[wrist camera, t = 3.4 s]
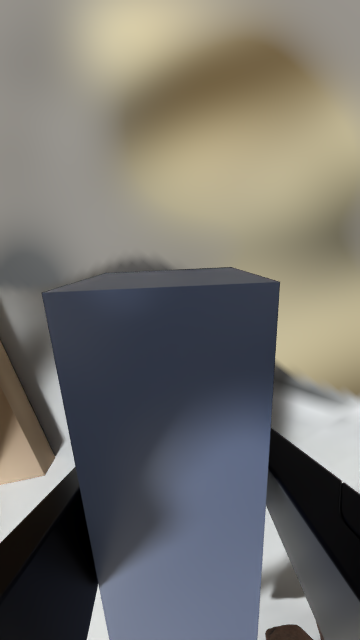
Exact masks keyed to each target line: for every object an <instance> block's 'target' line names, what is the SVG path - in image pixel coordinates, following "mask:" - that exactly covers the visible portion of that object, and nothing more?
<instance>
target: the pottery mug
mask: <svg viewBox="0 0 360 640" xmlns="http://www.w3.org/2000/svg"><path fill="white" fill-rule="evenodd" d="M316 623H317V622H316ZM317 627H318V630H319V633H320V637H321V640H324V638H323V635H322V633H321V631H320V629H319V626H318V624H317ZM265 635H266V640H313V639H312V638H311V637H310V636H309V635H308V634H307V633H306V632H305V631H304V630H303V629H302V628H301V627H299V626H298V625H282V626H278V627H273V628H271V629H268V630H267V631H266V633H265Z"/></svg>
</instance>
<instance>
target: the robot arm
mask: <svg viewBox="0 0 360 640" xmlns="http://www.w3.org/2000/svg"><path fill="white" fill-rule="evenodd" d="M266 506H267V509H268V511H269V513H270V515H271V518H272V520H273V522H274V525H275V527H276V529H277V532H278V534H279V536H280V539H281V541H282V543H283V545H284V548H285V550H286V552H287V555H288V557H289V559H290V562H291V564H292V566H293V569H294V571H295V573H296V575H297V578H298V580H299V582H300V585H301V587H302V589H303V592H304V594H305V596H306V599H307V601H308V603H309V605H310V608H311V610H312V612H313V615H314V617H315V619H316V622H317V624H318V626H319V629H320V631H321V633H322V635H323V638H324V640H360V494H359V493H358V492H356V491H355V490H354V489H352V488H351V487H350V486H348V485H347V484H346V483H342V481H341V480H340V479H339V478H338V477H336V476H335V475H334V474H332V473H331V472H330V471H328V470H327V469H326V468H324V467H323V466H322V465H320V464H319V463H318V462H316V461H315V460H313V459H312V458H311V457H309V456H308V455H307V454H305V453H304V452H303V451H301V450H300V449H299V448H297V447H296V446H295V445H293V444H292V443H291V442H289V441H288V440H287V439H285V438H284V437H283V436H281V435H280V434H279V433H277V432H276V431H275V430H273V429H272V428H271V431H270V446H269V462H268V478H267V493H266ZM97 587H98V579H97V573H96V568H95V563H94V558H93V553H92V548H91V543H90V538H89V532H88V527H87V522H86V517H85V512H84V507H83V502H82V497H81V492H80V486H79V481H78V476H77V471H76V467H75V468H74V469H73V470H72V471H71V472H70V473H69V474H68V475H67V476H66V477H65V478H64V479H63V480H62V481H61V482H60V483H59V484H58V485H57V486H56V487H55V488H54V489H53V490H52V491H51V492H50V493H49V494H48V495H47V496H46V497H45V498H44V499H43V500H42V501H41V502H40V503H39V504H38V505H37V506H36V507H35V508H34V509H33V510H32V511H31V512H30V513H29V514H28V515H27V517H26V518H25V519H24V520H23V521H22V522H21V523H20V524H19V525H18V526H17V527H16V528H15V529H14V530H13V531H12V532H11V533H10V534H9V535H8V536H7V537H6V538H5V539H4V540H3V541H2V542H1V543H0V640H87V635H88V631H89V626H90V621H91V616H92V611H93V606H94V601H95V597H96V592H97Z"/></svg>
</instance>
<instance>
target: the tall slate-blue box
mask: <svg viewBox="0 0 360 640" xmlns="http://www.w3.org/2000/svg"><path fill="white" fill-rule="evenodd" d="M279 288H280V282H278V281H275V280H272V279H269V278H265V277H262V276H259V275H255V274H252V273H249V272H245V271H242V270H239V269H235V268H232V267H221V268H199V269H178V270H165V271H143V272H121V273H105V274H101V275H98V276H95V277H91V278H88V279H85V280H82V281H78V282H75V283H72V284H69V285H65V286H62V287H59V288H55V289H52V290H49V291H46V292H42V297H43V302H44V307H45V312H46V317H47V323H48V328H49V333H50V338H51V343H52V348H53V353H54V358H55V364H56V369H57V374H58V379H59V384H60V389H61V394H62V399H63V405H64V410H65V415H66V420H67V425H68V430H69V435H70V440H71V445H72V451H73V456H74V461H75V466H76V471H77V476H78V481H79V486H80V492H81V497H82V502H83V507H84V512H85V517H86V522H87V527H88V532H89V538H90V543H91V548H92V553H93V558H94V563H95V568H96V573H97V579H98V584H99V589H100V594H101V599H102V604H103V609H104V614H105V619H106V625H107V630H108V635H109V640H257V635H258V619H259V604H260V588H261V572H262V556H263V541H264V525H265V509H266V493H267V478H268V462H269V446H270V431H271V415H272V399H273V383H274V368H275V351H276V336H277V321H278V305H279Z"/></svg>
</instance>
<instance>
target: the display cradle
mask: <svg viewBox="0 0 360 640" xmlns="http://www.w3.org/2000/svg"><path fill="white" fill-rule="evenodd" d="M54 459H55V456H54V454H53V452H52V449H51V447H50V445H49V443H48V441H47V439H46V437H45V435H44V432H43V430H42V428H41V426H40V424H39V422H38V420H37V418H36V415H35V413H34V411H33V409H32V407H31V405H30V403H29V401H28V398H27V396H26V394H25V392H24V390H23V388H22V386H21V384H20V381H19V379H18V377H17V375H16V373H15V371H14V369H13V367H12V364H11V362H10V360H9V358H8V356H7V354H6V352H5V350H4V347H3V345H2V343H1V341H0V485H2V484H7V483H12V482H16V481H21V480H26V479H31V478H35V477H40V476H45V474H46V473H47V471H48V469H49V467H50V466H51V464H52V462H53V461H54Z"/></svg>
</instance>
